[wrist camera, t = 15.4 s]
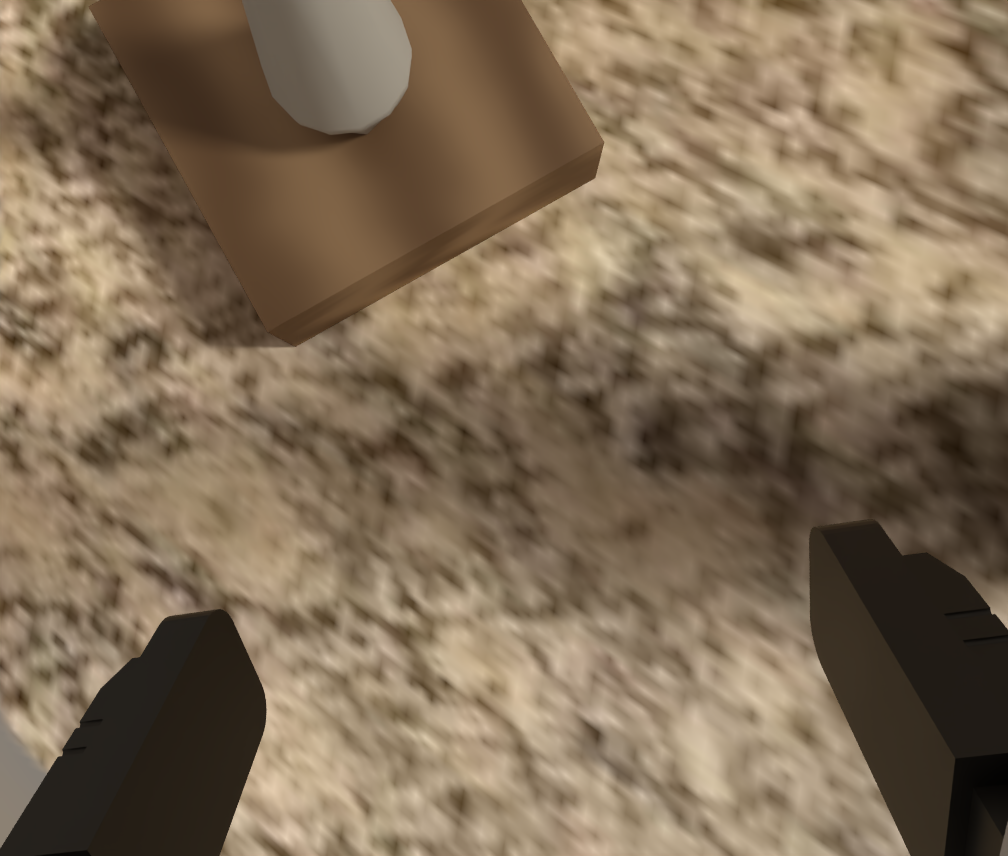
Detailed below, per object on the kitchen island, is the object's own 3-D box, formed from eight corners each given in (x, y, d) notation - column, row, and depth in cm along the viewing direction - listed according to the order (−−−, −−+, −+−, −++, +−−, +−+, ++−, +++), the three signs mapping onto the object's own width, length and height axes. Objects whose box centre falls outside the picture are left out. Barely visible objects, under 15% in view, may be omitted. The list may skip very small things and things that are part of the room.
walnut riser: (428, -109, 37) (416, -178, 33) (595, 177, 36) (604, 142, 32) (135, 56, 37) (88, 6, 33) (295, 346, 36) (267, 332, 32)
